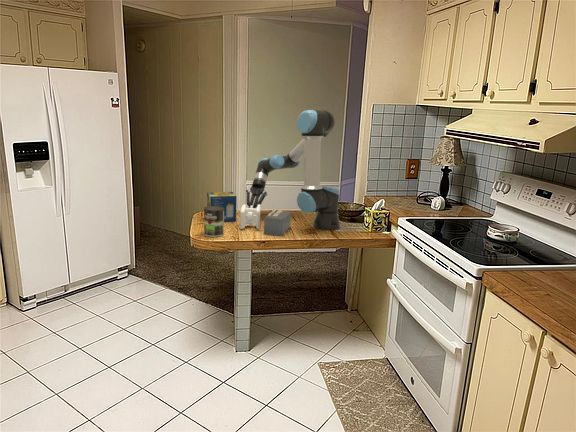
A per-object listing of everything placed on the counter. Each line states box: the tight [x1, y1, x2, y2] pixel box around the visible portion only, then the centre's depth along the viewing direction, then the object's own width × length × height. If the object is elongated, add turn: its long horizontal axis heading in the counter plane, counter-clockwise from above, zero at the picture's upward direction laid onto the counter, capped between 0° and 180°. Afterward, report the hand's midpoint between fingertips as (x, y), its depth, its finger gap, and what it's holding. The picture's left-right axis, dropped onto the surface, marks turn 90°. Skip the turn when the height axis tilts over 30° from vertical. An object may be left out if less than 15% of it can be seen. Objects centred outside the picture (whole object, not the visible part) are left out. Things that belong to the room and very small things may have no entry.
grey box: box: [263, 209, 292, 237], centre depth 239 cm, size 10×18×10 cm, turn 166°
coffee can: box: [203, 205, 225, 238], centre depth 227 cm, size 10×10×14 cm
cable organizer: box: [239, 203, 262, 230], centre depth 244 cm, size 15×11×12 cm
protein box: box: [206, 191, 238, 223], centre depth 254 cm, size 10×15×16 cm
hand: (249, 216), depth 250 cm, fingers closed
